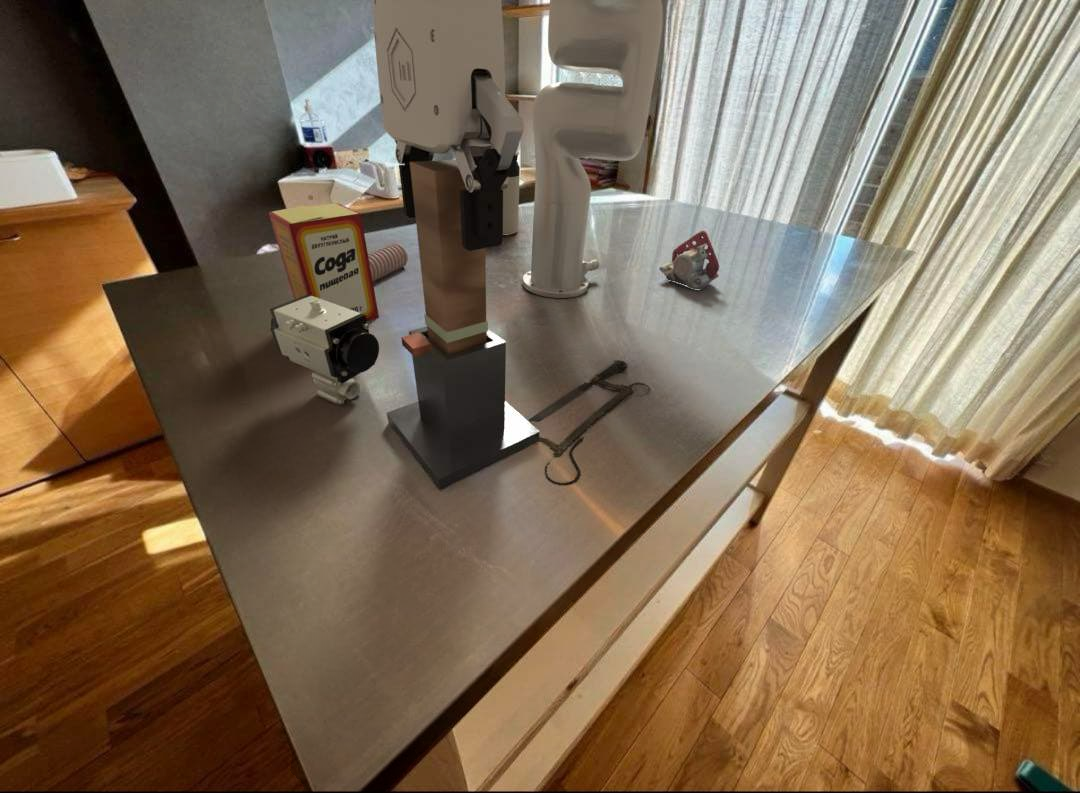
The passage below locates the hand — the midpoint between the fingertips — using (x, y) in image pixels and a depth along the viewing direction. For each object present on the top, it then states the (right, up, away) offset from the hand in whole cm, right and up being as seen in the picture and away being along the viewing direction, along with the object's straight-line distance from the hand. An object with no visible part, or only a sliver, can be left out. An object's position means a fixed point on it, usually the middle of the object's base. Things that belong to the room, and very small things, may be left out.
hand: (450, 229), depth 35 cm
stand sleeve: (-1, -18, +13) cm, 22 cm away
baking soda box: (-24, -1, +33) cm, 41 cm away
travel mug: (-2, +28, +75) cm, 80 cm away
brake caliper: (+37, +9, +54) cm, 66 cm away
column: (-1, -10, +8) cm, 13 cm away
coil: (-24, +8, +46) cm, 53 cm away
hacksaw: (+14, -16, +17) cm, 27 cm away
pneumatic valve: (-17, -14, +17) cm, 28 cm away
